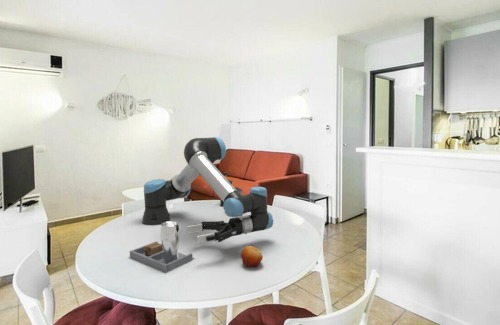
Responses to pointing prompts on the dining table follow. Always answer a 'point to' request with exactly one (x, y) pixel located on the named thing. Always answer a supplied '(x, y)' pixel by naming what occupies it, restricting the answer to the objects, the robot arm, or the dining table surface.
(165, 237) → the beer glass
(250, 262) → the fruit
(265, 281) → the dining table surface
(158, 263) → the tray
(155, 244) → the walnut block
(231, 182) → the french press
